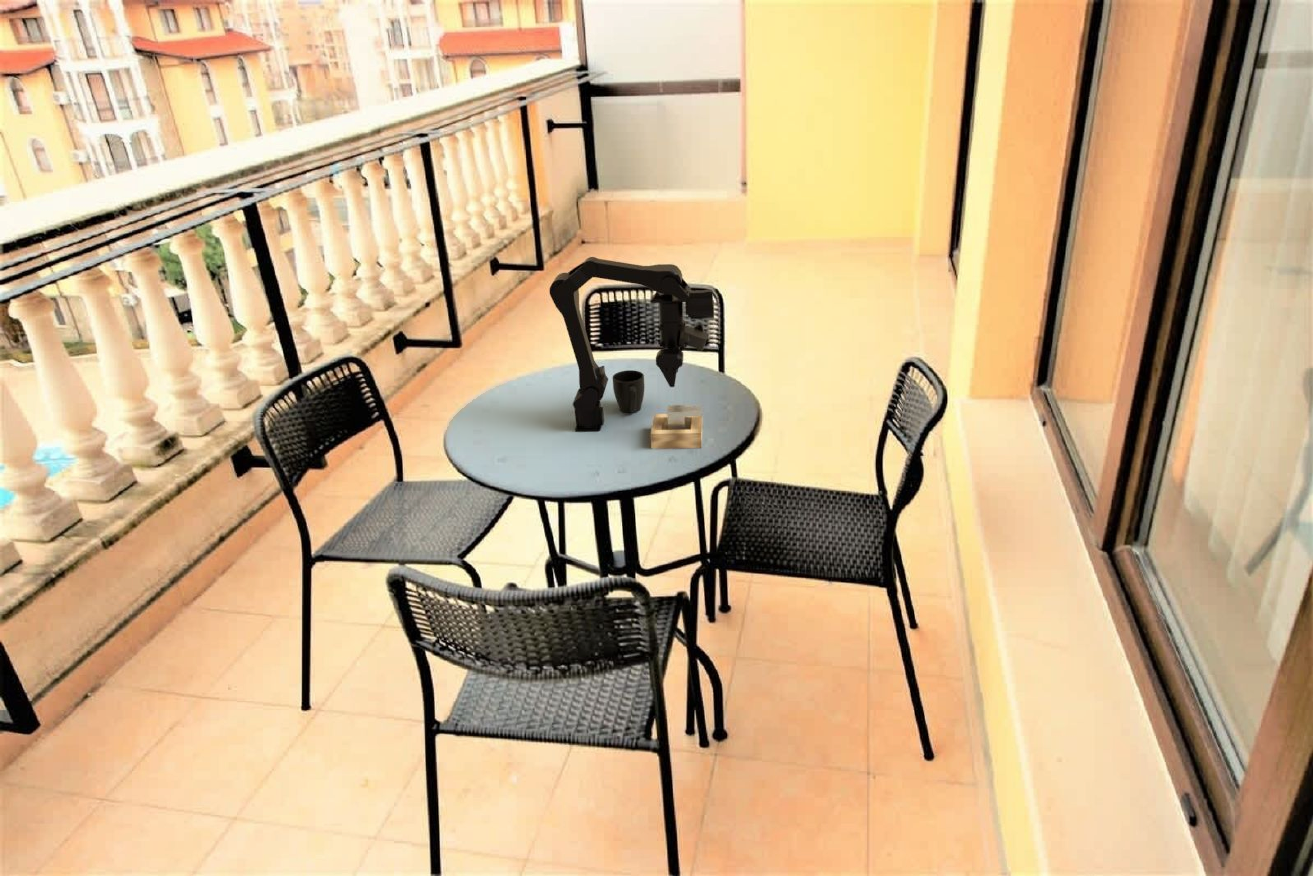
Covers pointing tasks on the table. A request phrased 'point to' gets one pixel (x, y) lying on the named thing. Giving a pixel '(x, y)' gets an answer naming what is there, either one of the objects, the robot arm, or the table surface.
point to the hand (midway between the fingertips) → (673, 379)
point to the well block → (676, 433)
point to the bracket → (681, 415)
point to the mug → (629, 390)
